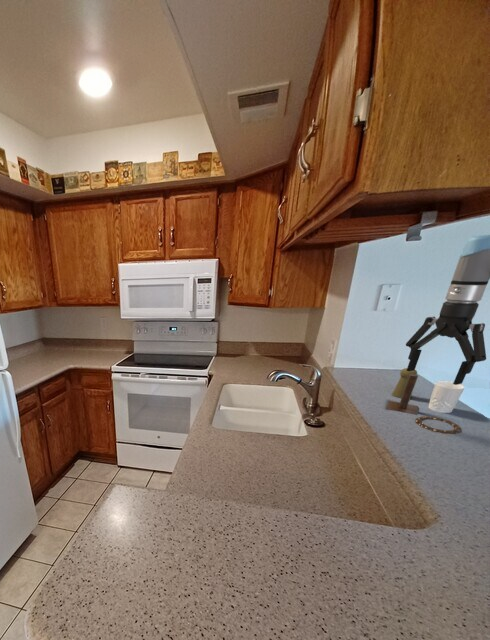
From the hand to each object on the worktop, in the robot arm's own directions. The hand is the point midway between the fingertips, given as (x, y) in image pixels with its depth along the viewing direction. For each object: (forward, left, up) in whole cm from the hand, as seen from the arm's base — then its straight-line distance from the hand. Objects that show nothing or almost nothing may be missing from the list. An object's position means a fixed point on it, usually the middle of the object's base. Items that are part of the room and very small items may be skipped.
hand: (432, 376), depth 99 cm
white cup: (-7, -20, -17) cm, 27 cm away
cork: (+5, -30, -17) cm, 35 cm away
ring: (-6, -2, -16) cm, 17 cm away
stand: (+4, -13, -17) cm, 22 cm away
